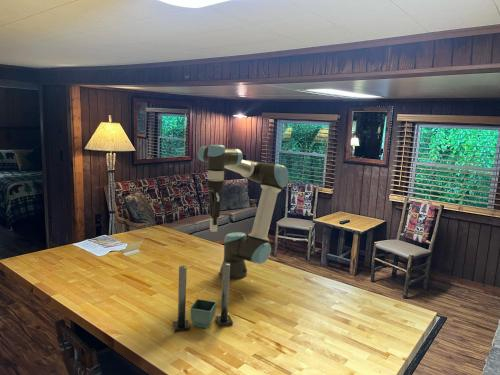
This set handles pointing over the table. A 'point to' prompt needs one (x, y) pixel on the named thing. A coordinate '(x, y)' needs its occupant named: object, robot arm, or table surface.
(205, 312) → the flower pot
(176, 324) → the post
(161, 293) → the table surface
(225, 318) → the post
